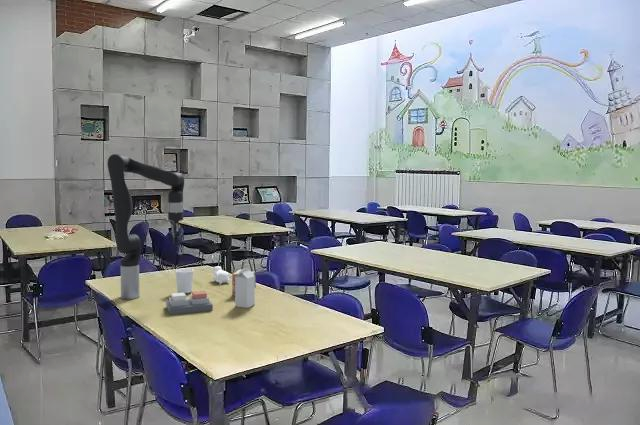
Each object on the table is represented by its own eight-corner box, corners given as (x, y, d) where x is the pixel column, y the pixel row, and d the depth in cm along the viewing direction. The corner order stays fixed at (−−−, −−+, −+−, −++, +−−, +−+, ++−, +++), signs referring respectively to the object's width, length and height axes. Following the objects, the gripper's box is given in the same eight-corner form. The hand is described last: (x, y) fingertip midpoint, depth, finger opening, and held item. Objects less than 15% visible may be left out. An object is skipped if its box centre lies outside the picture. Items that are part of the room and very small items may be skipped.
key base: (170, 314, 246) (170, 303, 245) (166, 307, 259) (166, 296, 258) (212, 310, 254) (212, 299, 253) (206, 303, 267) (206, 292, 266)
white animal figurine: (230, 287, 312) (221, 274, 324) (232, 275, 309) (223, 262, 320) (216, 289, 308) (208, 275, 319) (218, 277, 304) (210, 263, 316)
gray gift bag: (245, 286, 304) (245, 265, 303) (255, 287, 303) (255, 266, 301) (232, 295, 283) (232, 273, 282) (243, 296, 282) (243, 274, 281)
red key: (194, 300, 254) (194, 294, 254) (192, 297, 259) (192, 291, 259) (206, 299, 256) (206, 293, 256) (204, 296, 262) (204, 290, 261)
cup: (183, 296, 280) (182, 272, 279) (171, 293, 286) (171, 270, 284) (197, 292, 288) (197, 270, 286) (186, 289, 294) (186, 267, 292)
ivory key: (173, 302, 250) (173, 296, 250) (171, 299, 255) (171, 293, 255) (186, 301, 252) (185, 295, 252) (184, 298, 258) (183, 292, 257)
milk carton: (254, 304, 265) (254, 268, 263) (247, 308, 259) (247, 270, 257) (242, 303, 268) (242, 266, 266) (235, 306, 262) (235, 269, 260)
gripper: (166, 210, 274) (166, 242, 276) (169, 212, 262) (170, 246, 264) (180, 209, 277) (181, 242, 279) (185, 212, 265) (185, 245, 267)
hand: (175, 244), depth 271 cm, fingers closed
